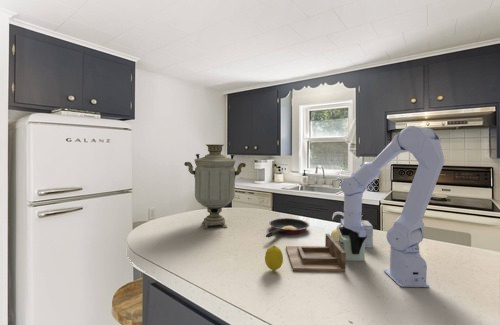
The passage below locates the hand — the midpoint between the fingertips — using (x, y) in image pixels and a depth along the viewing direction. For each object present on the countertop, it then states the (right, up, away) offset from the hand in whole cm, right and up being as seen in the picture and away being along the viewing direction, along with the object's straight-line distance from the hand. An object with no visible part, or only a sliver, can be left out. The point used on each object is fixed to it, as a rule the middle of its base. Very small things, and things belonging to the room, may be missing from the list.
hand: (351, 250), depth 89 cm
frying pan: (-21, -1, +25) cm, 33 cm away
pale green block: (0, -2, 0) cm, 2 cm away
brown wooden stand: (-14, -2, -2) cm, 14 cm away
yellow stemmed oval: (+1, -2, +17) cm, 17 cm away
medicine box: (+10, -2, +13) cm, 17 cm away
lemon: (-28, -3, -10) cm, 30 cm away
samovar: (-52, 0, +40) cm, 66 cm away
